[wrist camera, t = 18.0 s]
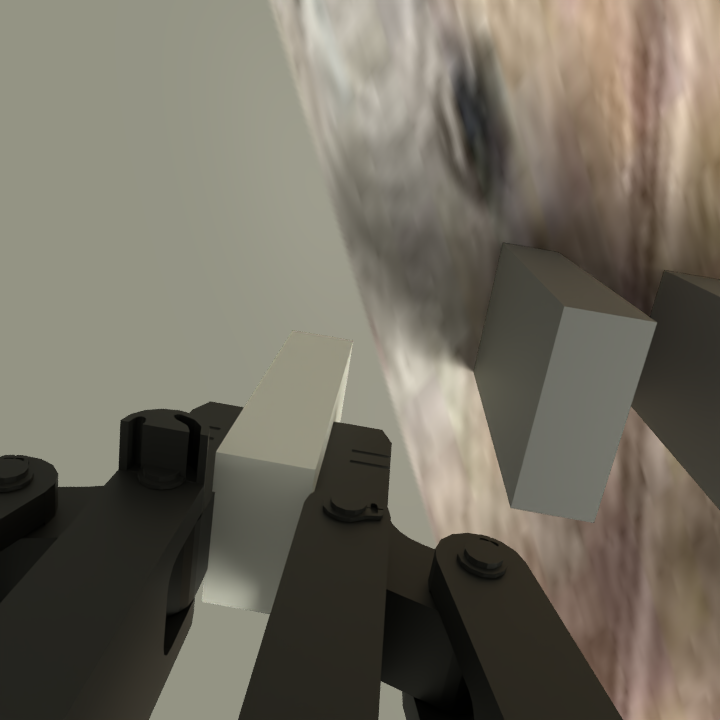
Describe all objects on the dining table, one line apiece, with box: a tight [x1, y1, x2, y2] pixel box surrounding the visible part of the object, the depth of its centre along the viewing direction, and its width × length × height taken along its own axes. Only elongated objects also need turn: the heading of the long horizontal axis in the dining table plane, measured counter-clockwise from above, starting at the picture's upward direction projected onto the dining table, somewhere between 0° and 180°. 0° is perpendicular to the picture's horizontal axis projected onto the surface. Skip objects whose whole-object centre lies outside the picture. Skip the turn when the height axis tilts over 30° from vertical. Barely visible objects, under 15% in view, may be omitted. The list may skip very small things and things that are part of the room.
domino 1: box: [474, 243, 657, 523], centre depth 23 cm, size 6×2×12 cm, turn 171°
